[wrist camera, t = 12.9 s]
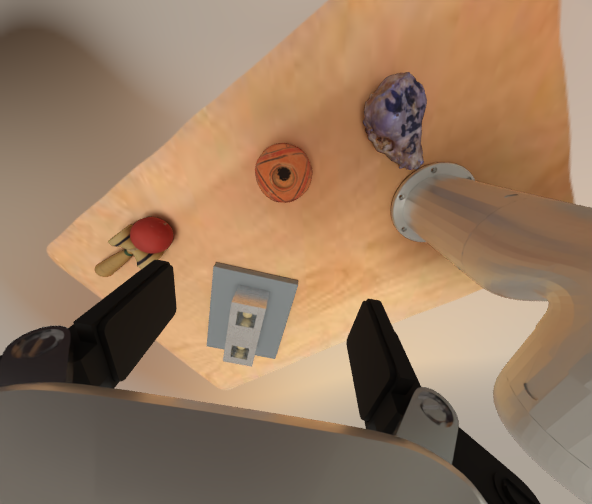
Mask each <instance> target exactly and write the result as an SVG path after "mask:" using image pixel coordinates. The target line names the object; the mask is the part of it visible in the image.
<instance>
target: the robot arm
mask: <svg viewBox="0 0 592 504" xmlns="http://www.w3.org/2000/svg"><path fill="white" fill-rule="evenodd" d="M431 169H432V171H431ZM400 195H401V197H399V196H400ZM391 218H392V221H393V224H394V226H395V227H396V229H397V230H398V231H399V232H400V233H401V234H402V235H403V236H404V237H406V238H408V239H410V240H412V241H416V242H427V243H428V244H429V245H431V246H432V247H433V248H434V249H436V250H437V251H438V252H439V253H440V254H442V255H443V256H444V257H445V258H446V259H448V260H449V261H450V262H451V263H453V264H454V265H455V266H456V267H457V268H459V269H460V270H461V271H462V272H463V273H465V274H466V275H467V276H468V277H470V278H471V279H472V280H473V281H475V282H476V283H477V284H478V285H480V286H481V287H483V288H484V289H486V290H487V291H489V292H491V293H493V294H496V295H499V296H501V297H505V298H509V299H515V300H523V301H548V302H549V305H548V309H547V311H546V313H545V314H544V316H543V317H542V319H541V320H540V321H539V323H538V324H537V325H536V328H535V330H534V331H533V332H532V334H531V335H530V336H529V337H528V338H527V339H526V341H525V342H524V343H523V344H522V346H521V347H520V348H519V349H518V351H517V352H516V353H515V354H514V355H513V357H512V358H511V359H510V361H509V362H508V363H507V364H506V365H505V367H504V368H503V369H502V371H501V373H500V374H499V376H498V377H497V379H496V382H495V385H494V390H493V398H494V404H495V407H496V410H497V413H498V415H499V417H500V419H501V421H502V422H503V424H504V426H505V427H506V429H507V430H508V432H509V433H510V434H511V436H512V437H513V438H514V440H515V441H516V442H517V443H518V444H519V446H520V447H521V448H522V449H523V450H524V451H525V452H526V453H527V454H528V455H529V456H530V457H531V458H532V459H533V460H534V461H535V462H536V463H537V464H538V465H539V466H540V467H541V468H542V469H543V470H545V471H546V472H547V473H548V474H549V475H550V476H551V477H553V478H554V479H555V480H556V481H557V482H559V483H560V484H561V485H562V486H564V487H565V488H566V489H567V490H569V491H570V492H571V493H572V494H574V495H575V496H576V497H578V498H579V499H581V500H582V501H583V502H585V503H586V504H592V208H590V207H585V206H581V205H576V204H572V203H567V202H563V201H559V200H554V199H550V198H545V197H541V196H537V195H533V194H529V193H524V192H520V191H516V190H512V189H507V188H503V187H499V186H495V185H491V184H486V183H482V182H478V181H475V179H474V177H473V175H472V174H471V173H470V172H469V171H468V170H467V169H466V168H464V167H462V166H460V165H458V164H453V163H445V162H440V163H433V164H430V165H427V166H424V167H422V168H420V169H418V170H416V171H415V172H414V173H412V174H411V175H410V176H408V177H407V178H406V179H405V180H404V181H403V183H402V184H401V185H400V187H399V188H398V190H397V191H396V193H395V195H394V198H393V201H392V205H391ZM175 313H176V296H175V285H174V273H173V267H172V266H171V265H170V263H169V262H167V261H161V260H153V261H152V262H150V263H149V264H148V265H146V266H145V267H144V268H143V269H141V270H140V271H139V272H137V273H136V274H135V275H134V276H132V277H131V278H130V279H128V280H127V281H126V282H124V283H123V284H122V285H121V286H119V287H118V288H117V289H115V290H114V291H113V292H112V293H110V294H109V295H108V296H106V297H105V298H104V299H102V300H101V301H100V302H99V303H97V304H96V305H95V306H93V307H92V308H91V309H90V310H88V311H87V312H86V313H84V314H83V315H82V316H80V317H79V318H78V319H77V320H75V321H74V324H73V325H72V326H71V327H70V328H66V327H63V326H48V327H42V328H39V329H36V330H33V331H30V332H28V333H26V334H24V335H22V336H20V337H19V338H17V339H16V340H14V341H13V342H12V343H10V344H9V345H8V346H7V348H6V349H5V351H4V352H3V355H1V356H0V504H540V503H539V501H538V499H537V498H536V496H535V495H534V494H533V492H532V491H531V490H530V489H529V488H528V486H527V485H526V484H525V483H524V482H522V480H520V479H519V478H518V477H517V476H516V475H515V474H514V473H513V472H511V471H510V470H509V469H508V468H507V467H506V466H504V465H503V464H502V463H501V462H500V461H498V460H497V459H496V458H495V457H494V456H493V455H491V454H490V453H489V452H488V451H487V450H485V449H484V448H483V447H482V446H481V445H479V444H478V443H477V442H476V441H475V440H474V439H472V438H471V437H470V436H469V435H468V434H467V433H465V432H464V431H463V430H462V429H461V428H459V421H458V417H457V415H456V412H455V411H454V409H453V407H452V406H451V405H450V403H449V402H448V401H447V400H446V399H445V398H444V397H443V396H441V395H440V394H439V393H437V392H436V391H434V390H432V389H429V388H426V387H421V386H420V383H419V381H418V379H417V377H416V375H415V373H414V370H413V368H412V366H411V364H410V362H409V359H408V357H407V355H406V353H405V351H404V349H403V346H402V344H401V342H400V340H399V338H398V335H397V334H396V332H395V331H394V329H393V327H392V325H391V323H390V320H389V318H388V316H387V314H386V312H385V309H384V307H383V305H382V303H381V301H379V300H373V299H367V300H366V301H363V302H362V305H361V307H360V309H359V312H358V314H357V316H356V319H355V321H354V324H353V326H352V328H351V331H350V333H349V335H348V338H347V350H348V354H349V360H350V366H351V370H352V376H353V382H354V387H355V392H356V397H357V403H358V408H359V413H360V417H361V419H362V420H364V421H365V426H366V429H363V428H357V427H352V426H347V425H341V424H336V423H330V422H324V421H318V420H312V419H305V418H300V417H294V416H287V415H281V414H276V413H269V412H262V411H257V410H251V409H244V408H238V407H232V406H225V405H219V404H213V403H206V402H200V401H193V400H187V399H180V398H174V397H167V396H161V395H155V394H148V393H142V392H135V391H128V390H121V389H114V387H116V385H117V384H118V383H119V381H123V380H125V379H126V377H127V376H128V375H129V373H130V372H131V371H132V370H133V368H134V367H135V366H136V365H137V363H138V362H139V361H140V359H141V358H142V357H143V355H144V354H145V352H146V351H147V350H148V349H149V347H150V346H151V345H152V344H153V342H154V341H155V340H156V338H157V337H158V336H159V334H160V333H161V332H162V331H163V329H164V328H165V327H166V325H167V324H168V323H169V321H170V320H171V319H172V318H173V316H174V315H175Z"/></svg>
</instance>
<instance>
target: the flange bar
mask: <svg viewBox="0 0 592 504" xmlns="http://www.w3.org/2000/svg"><path fill="white" fill-rule="evenodd" d="M269 292H270V291H266V290H261V289H257V288H252V287H248V286H243V285H239V286H238V288H237V290H236V293H235V295H234V297H233V300H232V302H231V309H230V316H229V323H228V329H227V336H226V343H225V350H224V357H223V361H225V362H230V363H236V364H241V365H247V366H252V364H253V360H254V356H255V352H256V348H257V343H258V339H259V335H260V331H261V327H262V323H263V319H264V315H265V311H266V306H267V302H268V297H269ZM243 312H244V313H249V314H252V316H251V317H250V318H246V317H244V316H243ZM237 346H238V347H243V348H245V349H243V350H241V349H238V348H237Z"/></svg>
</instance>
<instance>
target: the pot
mask: <svg viewBox="0 0 592 504" xmlns="http://www.w3.org/2000/svg"><path fill="white" fill-rule="evenodd" d="M255 174H256V180H257V183H258V185H259V187H260V189H261V191H262V192H263V193H264V194H265V195H266V196H267V197H268V198H270V199H271V200H273V201H275V202H284V203H286V202H292V201H294V200H296V199H298V198H299V197H300V196H302V195H303V194H304V193H305V192H306V190H307V189H308V187H309V185H310V183H311V179H312V167H311V165H310V162H309V160H308V158H307V156H306V154H305V153H304V152H303V151H302V150H301V149H299V148H298V147H296V146H294V145H291V144H287V143H279V144H275V145H272V146H270V147H268V148H267V149H265V151H264V152H263V153H262V154H261V156H260V157H259V159H258V161H257V163H256V168H255Z"/></svg>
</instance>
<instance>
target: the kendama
mask: <svg viewBox="0 0 592 504" xmlns="http://www.w3.org/2000/svg"><path fill="white" fill-rule="evenodd" d="M172 241H173V231H172V229H171V227H170V226H169V224H168V223H167V222H165V221H164V220H162V219H159V218H156V217H146V218H143V219H140V220H138V221H137V222H136V223H135V224H134V225H132V224H130V225H128V226H127V227H126V228H124V229H123V230H122V231H120V232H119V233H118V234H117V235H115V236H114V237H113V238H111V239H110V240H109V241H108V243H109V244H111V245H112V246H118V247H123V248H125V249H124V250H122V251H120V252H118V253H116V254H114V255H112V256H111V257H109V258H108V259H106V260H104V261H102V262H101V263H99V264H97V265H96V267H95V272H96V273H97V274H98V275H99V276H102V277H109V276H111V275H112V274H113V273H114V272H115V271H117V270H118V269H119V268H120V267H121V266H122V265H124V264H125V263H126V262H127V261H128V260H129V259H130V258H131V257H132V256H133V255H134V256H135V258H136V261H137V267H139V268H140V269H143V268H144V267H145V266H146V265H148V264H149V263H150V262H152V261H153V260H158V259H159V258H160V257H161V256H162V255H163V253H164V250H166V249H167V248H168V247H169V246H170V245H171V243H172Z"/></svg>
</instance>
